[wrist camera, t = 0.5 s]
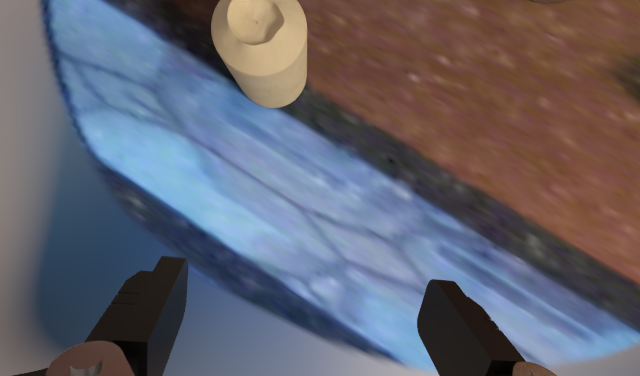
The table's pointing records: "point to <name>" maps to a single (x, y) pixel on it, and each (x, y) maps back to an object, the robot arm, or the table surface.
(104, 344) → the robot arm
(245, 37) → the candle
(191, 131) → the table surface
